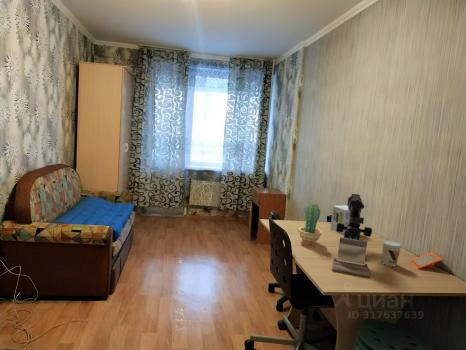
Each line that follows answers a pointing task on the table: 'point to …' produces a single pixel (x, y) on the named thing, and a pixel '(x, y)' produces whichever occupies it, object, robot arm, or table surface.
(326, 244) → the table surface
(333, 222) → the supplement box
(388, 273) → the table surface
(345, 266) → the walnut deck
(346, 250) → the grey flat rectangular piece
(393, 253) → the coffee cup
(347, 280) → the table surface
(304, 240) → the potted cactus
